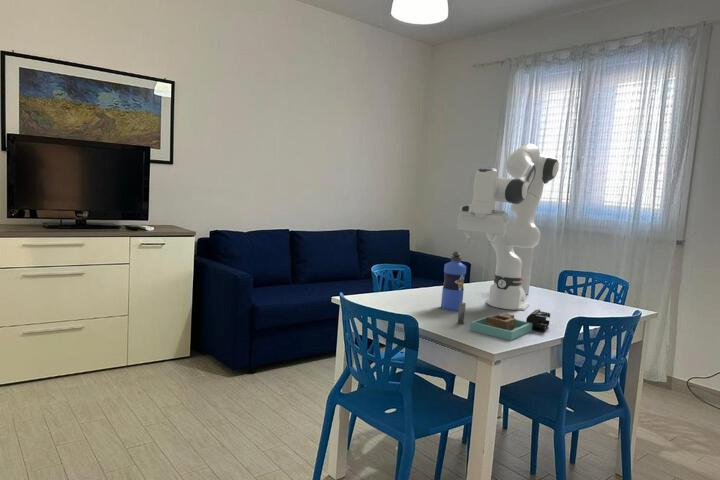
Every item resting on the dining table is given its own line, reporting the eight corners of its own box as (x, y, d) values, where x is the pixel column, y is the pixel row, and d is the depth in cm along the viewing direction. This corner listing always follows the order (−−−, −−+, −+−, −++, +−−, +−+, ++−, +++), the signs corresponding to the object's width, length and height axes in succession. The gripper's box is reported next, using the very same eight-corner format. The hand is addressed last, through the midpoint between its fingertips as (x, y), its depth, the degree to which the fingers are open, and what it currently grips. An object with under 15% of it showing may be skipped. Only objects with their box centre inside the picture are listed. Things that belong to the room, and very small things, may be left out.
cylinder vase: (505, 293, 273) (510, 246, 270) (503, 289, 285) (508, 243, 282) (530, 296, 271) (535, 248, 268) (526, 291, 283) (531, 246, 280)
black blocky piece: (530, 324, 211) (532, 308, 210) (548, 328, 207) (550, 311, 207) (525, 329, 202) (527, 312, 201) (544, 333, 199) (546, 315, 198)
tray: (492, 321, 210) (493, 314, 210) (531, 330, 200) (532, 323, 200) (469, 330, 194) (470, 321, 194) (511, 340, 184) (511, 332, 184)
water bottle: (436, 307, 228) (441, 250, 225) (448, 304, 235) (453, 249, 232) (454, 312, 222) (460, 253, 219) (466, 309, 228) (471, 252, 226)
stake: (459, 322, 205) (461, 302, 204) (464, 323, 203) (466, 303, 203) (456, 323, 203) (458, 303, 202) (461, 324, 202) (463, 304, 201)
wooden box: (499, 323, 206) (500, 312, 205) (519, 328, 201) (520, 316, 200) (485, 328, 195) (486, 317, 195) (505, 333, 190) (506, 321, 190)
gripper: (511, 211, 202) (507, 246, 203) (463, 206, 214) (460, 240, 215) (504, 211, 197) (501, 247, 198) (456, 206, 209) (452, 240, 211)
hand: (479, 243), depth 207 cm, fingers open, 8 cm apart
